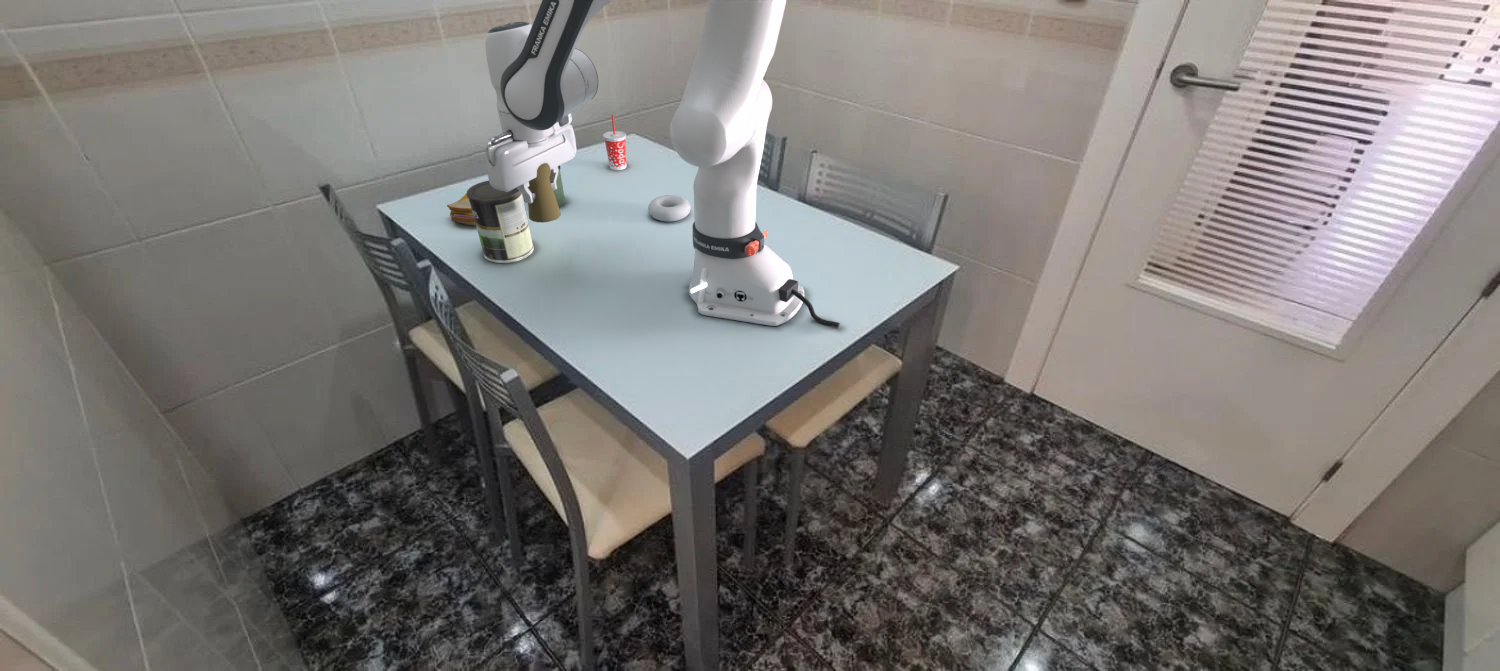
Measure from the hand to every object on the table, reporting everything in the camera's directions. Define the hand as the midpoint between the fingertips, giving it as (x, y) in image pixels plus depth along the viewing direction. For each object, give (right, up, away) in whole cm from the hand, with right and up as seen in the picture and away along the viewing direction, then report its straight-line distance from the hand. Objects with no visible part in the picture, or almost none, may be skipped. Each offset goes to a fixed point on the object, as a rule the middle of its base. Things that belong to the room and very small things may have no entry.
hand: (541, 195), depth 117 cm
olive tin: (-9, +6, +32) cm, 34 cm away
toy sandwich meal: (-23, +1, +26) cm, 35 cm away
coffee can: (-11, -9, +13) cm, 19 cm away
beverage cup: (+4, +20, +52) cm, 56 cm away
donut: (+21, +2, +29) cm, 36 cm away
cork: (0, -3, +3) cm, 4 cm away
